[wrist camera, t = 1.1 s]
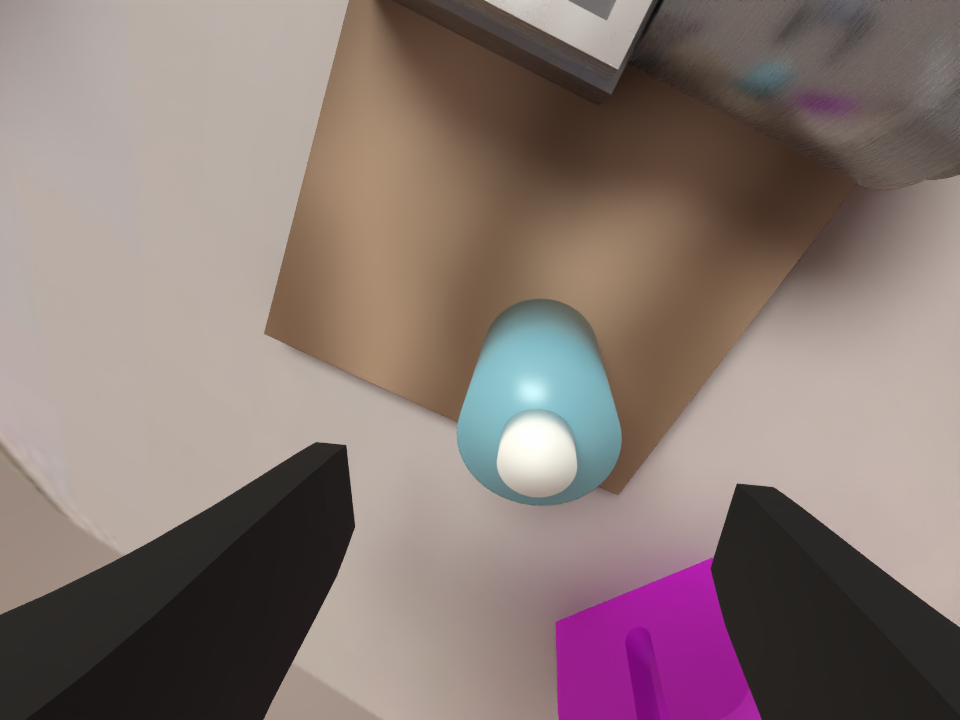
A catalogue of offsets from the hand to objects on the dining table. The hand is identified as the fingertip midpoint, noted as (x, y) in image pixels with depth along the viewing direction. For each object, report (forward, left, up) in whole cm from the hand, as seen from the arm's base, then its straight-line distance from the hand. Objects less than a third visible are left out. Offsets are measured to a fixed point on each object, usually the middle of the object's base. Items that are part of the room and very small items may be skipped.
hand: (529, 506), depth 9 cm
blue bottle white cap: (0, 0, -8) cm, 8 cm away
